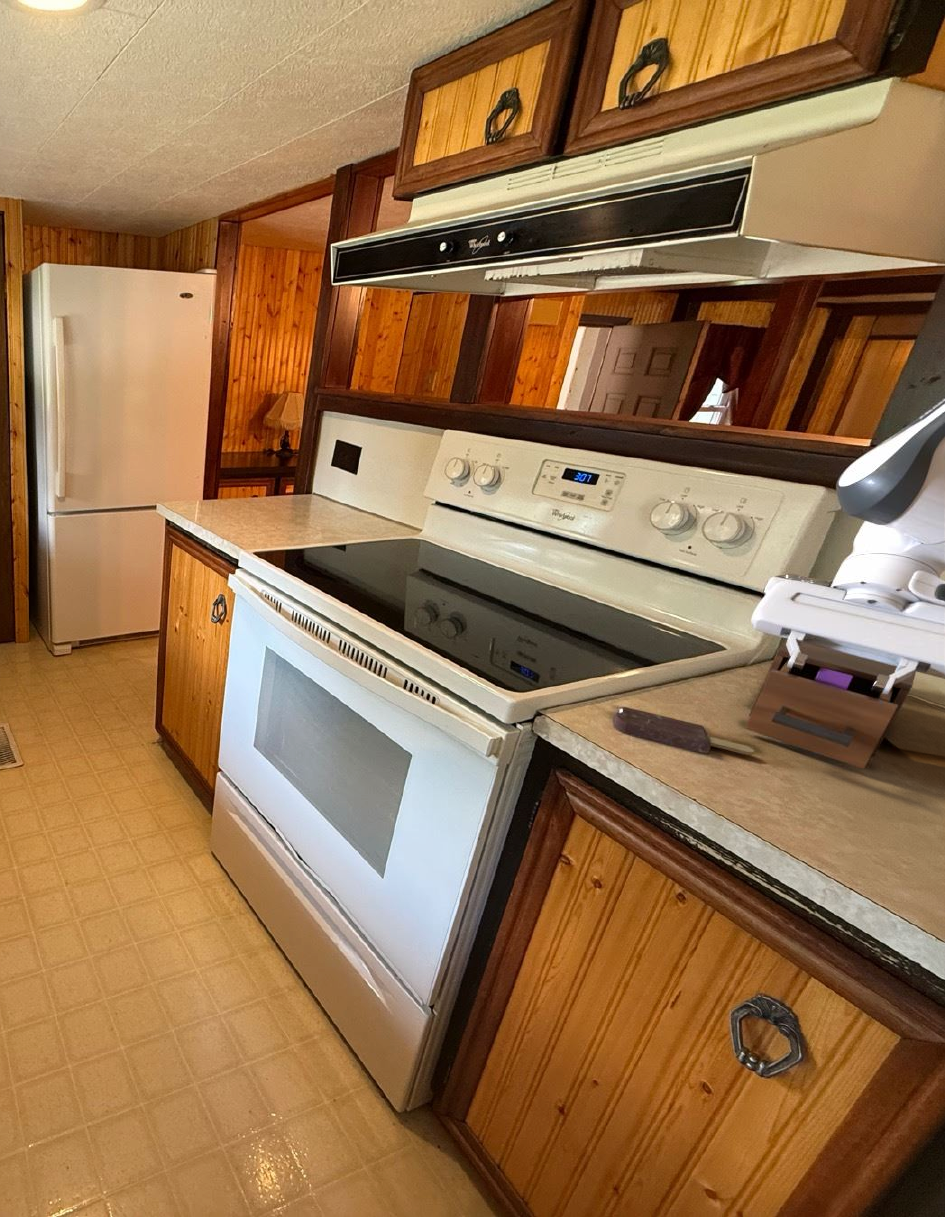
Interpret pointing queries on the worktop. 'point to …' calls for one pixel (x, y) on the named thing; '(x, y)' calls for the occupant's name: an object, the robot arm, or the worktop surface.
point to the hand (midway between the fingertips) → (835, 678)
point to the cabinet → (846, 672)
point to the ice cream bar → (671, 731)
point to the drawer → (822, 714)
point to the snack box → (833, 678)
